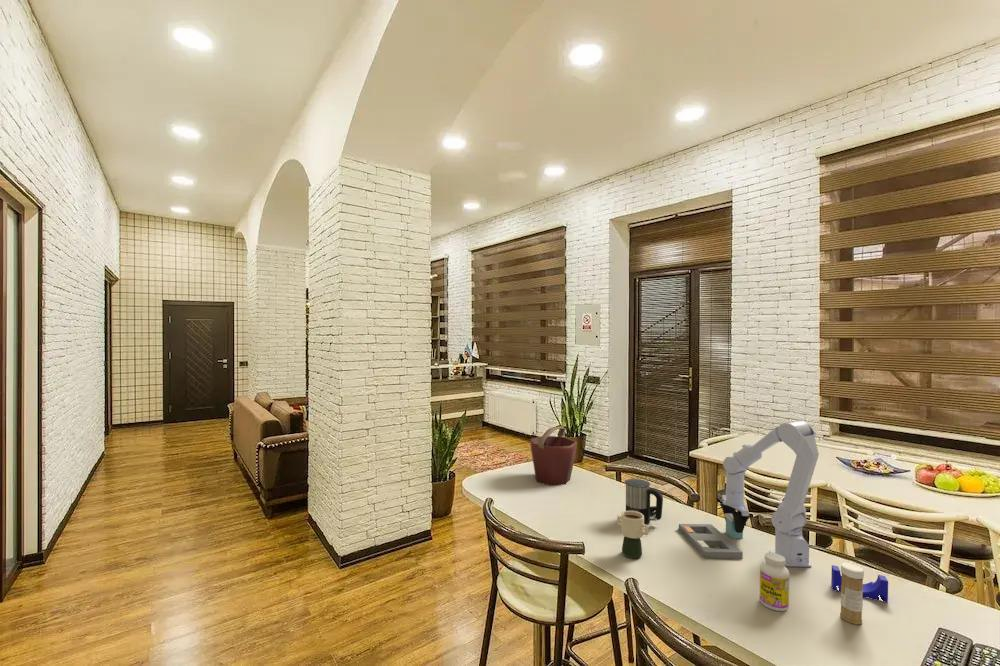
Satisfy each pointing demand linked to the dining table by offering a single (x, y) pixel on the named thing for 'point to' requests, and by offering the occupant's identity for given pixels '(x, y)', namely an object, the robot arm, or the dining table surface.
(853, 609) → the sprinkles bottle
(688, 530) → the socket plate
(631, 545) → the character mug
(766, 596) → the supplement bottle
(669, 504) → the dining table surface
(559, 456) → the bucket
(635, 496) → the milk frother
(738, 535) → the plug
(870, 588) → the cable clip
